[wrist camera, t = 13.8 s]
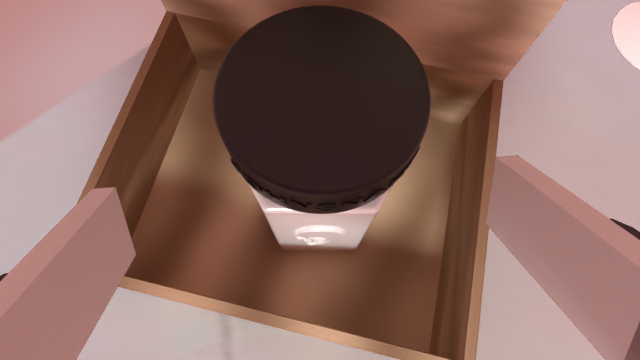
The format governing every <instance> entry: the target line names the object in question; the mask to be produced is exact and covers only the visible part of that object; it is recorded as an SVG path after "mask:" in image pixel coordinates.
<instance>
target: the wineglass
mask: <svg viewBox="0 0 640 360" xmlns="http://www.w3.org/2000/svg"><path fill="white" fill-rule="evenodd" d="M612 34H613V38H614V42H615V44H616V46H617V48H618V49H619V51H620V52H621V54H622V55H623V56H624V57H625V58H626V59H627V60H628V61H629V62H630V63H631V64H632V65H633V66H634V67H636V68H638V69H640V2H635V3H631V4H629V5H627V6H625V7H624V8H622V9H621V10H619V12H618V13H617V15H616V16H615V18H614V19H613V25H612Z"/></svg>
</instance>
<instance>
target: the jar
mask: <svg viewBox="0 0 640 360" xmlns="http://www.w3.org/2000/svg"><path fill="white" fill-rule="evenodd" d="M430 111H431V93H430V86H429V82H428V78H427V75H426V72H425V70H424V67H423V65H422V63H421V61H420V59H419V58H418V56H417V55H416V53H415V52H414V50H413V49H412V48H411V46H410V45H409V44H408V43H407V42H406V41H405V40H404V39H403V38H402V36H400V35H399V34H398V33H397V32H396V31H395V30H393V29H392V28H391V27H389V26H388V25H386V24H385V23H383V22H381V21H380V20H378V19H376V18H374V17H372V16H370V15H367V14H365V13H362V12H359V11H356V10H352V9H348V8H343V7H337V6H324V5H319V6H305V7H299V8H293V9H290V10H286V11H283V12H280V13H277V14H275V15H272V16H270V17H268V18H266V19H264V20H262V21H261V22H259V23H257V24H256V25H254V26H253V27H252V28H250V29H249V30H248V31H247V32H245V33H244V34H243V35H242V36H241V37H240V38H239V39H238V40H237V41H236V42H235V43H234V45H233V46H232V47H231V48H230V50H229V51H228V53H227V54H226V56H225V57H224V59H223V61H222V63H221V65H220V67H219V70H218V72H217V76H216V79H215V83H214V89H213V112H214V118H215V122H216V126H217V129H218V132H219V134H220V137H221V139H222V141H223V143H224V145H225V146H226V148H227V150H228V152H229V154H230V156H231V159H230V161H231V162H232V164H233V166H234V167H235V169H236V170H237V171H238V172H239V173H240V174H241V175H242V177H243V178H244V180H245V182H246V184H247V186H248V188H249V190H250V192H251V194H252V196H253V198H254V200H255V202H256V203H257V205H258V207H259V209H260V211H261V213H262V215H263V216H264V218H265V220H266V222H267V224H268V226H269V228H270V229H271V231H272V233H273V235H274V237H275V239H276V241H277V242H278V244H279V246H280V248H281V249H282V250H335V251H354V250H356V249H357V247H358V246H359V244H360V242H361V240H362V239H363V237H364V235H365V234H366V232H367V230H368V229H369V227H370V225H371V223H372V222H373V220H374V218H375V217H376V215H377V213H378V212H379V210H380V208H381V206H382V204H383V203H384V201H385V199H386V197H387V195H388V194H389V192H390V190H391V188H392V186H393V185H394V183H395V182H396V181H397V180H398V179H399V178H400V177H402V175H403V174H404V173H405V170H406V169H408V168H409V166H410V164H411V163H412V161H413V160H414V158H415V156H416V155H417V153H418V151H419V149H420V146H419V145H420V143H421V142H422V140H423V137H424V135H425V133H426V130H427V126H428V123H429V118H430Z"/></svg>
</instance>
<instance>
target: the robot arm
mask: <svg viewBox="0 0 640 360" xmlns="http://www.w3.org/2000/svg"><path fill="white" fill-rule="evenodd" d="M486 224H487V225H488V227H489V228H490V229H491V230H492V231H493V232H494V233H495V235H496V236H497V237H498V238H499V239H500V240H501V241H502V243H503V244H504V245H505V246H506V247H507V248H508V249H509V251H510V252H511V253H512V254H513V255H514V256H515V257H516V259H517V260H518V261H519V262H520V263H521V264H522V265H523V267H524V268H525V269H526V270H527V271H528V272H529V273H530V275H531V276H532V277H533V278H534V279H535V280H536V281H537V283H538V284H539V285H540V286H541V287H542V288H543V289H544V290H545V292H546V293H547V294H548V295H549V296H550V297H551V298H552V300H553V301H554V302H555V303H556V304H557V305H558V306H559V308H560V309H561V310H562V311H563V312H564V313H565V314H566V316H567V317H568V318H569V319H570V320H571V321H572V322H573V324H574V325H575V326H576V327H577V328H578V329H579V330H580V332H581V333H582V334H583V335H584V336H585V337H586V338H587V340H588V341H589V342H590V343H591V344H592V345H593V346H594V348H595V349H596V350H597V351H598V352H599V353H600V354H601V355H602V357H603V358H604V359H605V360H640V232H639V231H637V230H636V229H634V228H633V227H630V226H628V225H626V224H623V223H621V222H619V221H616V220H614V219H609V218H607V217H606V216H604V215H603V214H601V213H600V212H598V211H597V210H596V209H594V208H593V207H591V206H590V205H588V204H587V203H585V202H584V201H583V200H581V199H580V198H578V197H577V196H575V195H574V194H572V193H571V192H570V191H568V190H567V189H565V188H564V187H562V186H561V185H559V184H558V183H557V182H555V181H554V180H552V179H551V178H549V177H548V176H546V175H545V174H544V173H542V172H541V171H539V170H538V169H536V168H535V167H533V166H532V165H531V164H529V163H528V162H526V161H525V160H523V159H522V158H520V157H519V156H518V155H516V156H503V157H496V162H495V169H494V175H493V182H492V189H491V195H490V202H489V208H488V215H487V221H486ZM135 256H136V253H135V249H134V246H133V243H132V239H131V236H130V233H129V230H128V226H127V223H126V220H125V216H124V213H123V210H122V206H121V203H120V200H119V197H118V193H117V190H116V187H110V188H97V189H92V190H91V191H90V192H89V193H88V194H87V195H86V196H85V197H84V198H83V199H82V200H81V201H80V202H79V203H78V204H77V205H76V206H75V207H74V208H73V209H72V210H71V211H70V212H69V213H68V214H67V215H66V216H65V217H64V218H63V219H62V220H61V221H60V222H59V223H58V224H57V225H56V226H55V227H54V228H53V229H52V230H51V231H50V232H49V233H48V234H47V235H46V236H45V237H44V238H43V239H42V240H41V241H40V242H39V243H38V244H37V245H36V246H35V247H34V248H33V249H32V250H31V251H30V252H29V253H28V254H27V255H26V256H25V257H24V258H23V259H22V260H21V261H20V262H19V263H18V264H17V265H16V266H15V267H14V268H13V269H12V270H11V271H10V272H9V273H6V274H3V275H1V276H0V360H76V359H77V357H78V355H79V354H80V352H81V350H82V348H83V347H84V345H85V343H86V341H87V340H88V338H89V336H90V334H91V333H92V331H93V329H94V327H95V326H96V324H97V322H98V320H99V319H100V317H101V315H102V313H103V312H104V310H105V308H106V306H107V305H108V303H109V301H110V299H111V298H112V296H113V294H114V292H115V291H116V289H117V287H118V285H119V284H120V282H121V280H122V278H123V277H124V275H125V273H126V271H127V270H128V268H129V266H130V264H131V263H132V261H133V259H134V257H135Z"/></svg>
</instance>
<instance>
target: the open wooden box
mask: <svg viewBox="0 0 640 360" xmlns="http://www.w3.org/2000/svg"><path fill="white" fill-rule="evenodd" d="M162 2H163V4H164V7H165V9H166V14H165V16H164V18H163V20H162V22H161V24H160V27H159V29H158V31H157V33H156V35H155V37H154V39H153V41H152V44H151V46H150V48H149V50H148V52H147V54H146V56H145V59H144V61H143V63H142V65H141V67H140V69H139V71H138V74H137V76H136V78H135V80H134V82H133V84H132V86H131V89H130V91H129V93H128V95H127V97H126V99H125V102H124V104H123V106H122V108H121V110H120V112H119V114H118V117H117V119H116V121H115V123H114V125H113V127H112V129H111V132H110V134H109V136H108V138H107V140H106V142H105V144H104V147H103V149H102V151H101V153H100V155H99V157H98V159H97V162H96V164H95V166H94V168H93V170H92V172H91V175H90V177H89V179H88V181H87V183H86V185H85V187H84V190H83V192H82V194H81V196H80V198H79V200H78V202H77V204H78V203H79V202H80V201H81V200H82V199H83V198H84V197H85V196H86V195H87V194H88V193H89V192H90V191H91V190H92V189H97V188H110V187H116V190H117V193H118V197H119V200H120V203H121V206H122V210H123V213H124V216H125V220H126V223H127V226H128V230H129V233H130V236H131V239H132V243H133V246H134V249H135V253H136V256H135V257H134V259H133V261H132V263H131V264H130V266H129V268H128V270H127V271H126V273H125V275H124V277H123V278H122V280H121V282H120V284H119V285H118V287H122V288H126V289H130V290H134V291H138V292H142V293H145V294H149V295H153V296H157V297H161V298H165V299H169V300H172V301H176V302H180V303H184V304H188V305H192V306H196V307H200V308H203V309H207V310H211V311H215V312H219V313H223V314H227V315H230V316H234V317H238V318H242V319H246V320H250V321H254V322H258V323H261V324H265V325H269V326H273V327H277V328H281V329H285V330H288V331H292V332H296V333H300V334H304V335H308V336H312V337H316V338H319V339H323V340H327V341H331V342H335V343H339V344H343V345H346V346H350V347H354V348H358V349H362V350H366V351H370V352H374V353H377V354H381V355H385V356H389V357H393V358H397V359H401V360H476V352H477V342H478V332H479V322H480V312H481V301H482V291H483V281H484V271H485V261H486V251H487V241H488V230H489V227H488V225H487V224H486V221H487V215H488V208H489V202H490V195H491V189H492V182H493V175H494V169H495V159H496V149H497V139H498V129H499V119H500V108H501V98H502V88H503V80H504V79H505V78H506V77H507V75H508V74H509V73H510V72H511V70H512V69H513V68H514V66H515V65H516V64H517V63H518V61H519V60H520V59H521V58H522V56H523V55H524V54H525V52H526V51H527V50H528V49H529V47H530V46H531V45H532V44H533V42H534V41H535V40H536V38H537V37H538V36H539V35H540V33H541V32H542V31H543V30H544V28H545V27H546V26H547V25H548V23H549V22H550V21H551V19H552V18H553V17H554V16H555V14H556V13H557V12H558V11H559V9H560V8H561V7H562V5H563V4H564V3H565V2H566V0H162ZM319 5H324V6H337V7H343V8H348V9H352V10H356V11H359V12H362V13H365V14H367V15H370V16H372V17H374V18H376V19H378V20H380V21H381V22H383V23H385V24H386V25H388V26H389V27H391V28H392V29H393V30H395V31H396V32H397V33H398V34H399V35H400V36H402V38H403V39H404V40H405V41H406V42H407V43H408V44H409V45H410V46H411V48H412V49H413V50H414V52H415V53H416V55H417V56H418V58H419V59H420V61H421V63H422V65H423V67H424V70H425V72H426V75H427V78H428V82H429V86H430V93H431V111H430V118H429V123H428V126H427V130H426V133H425V135H424V137H423V140H422V142H421V143H420V145H419V146H420V149H419V151H418V153H417V155H416V156H415V158H414V160H413V161H412V163H411V164H410V166H409V168H408V169H406V170H405V173H404V174H403V175H402V177H400V178H399V179H398V180H397V181H396V182H395V183H394V185H393V186H392V188H391V190H390V192H389V194H388V195H387V197H386V199H385V201H384V203H383V204H382V206H381V208H380V210H379V212H378V213H377V215H376V217H375V218H374V220H373V222H372V223H371V225H370V227H369V229H368V230H367V232H366V234H365V235H364V237H363V239H362V240H361V242H360V244H359V246H358V247H357V249H356V250H354V251H335V250H282V249H281V248H280V246H279V244H278V242H277V241H276V239H275V237H274V235H273V233H272V231H271V229H270V228H269V226H268V224H267V222H266V220H265V218H264V216H263V215H262V213H261V211H260V209H259V207H258V205H257V203H256V202H255V200H254V198H253V196H252V194H251V192H250V190H249V188H248V186H247V184H246V182H245V180H244V178H243V177H242V175H241V174H240V173H239V172H238V171H237V170H236V169H235V167H234V166H233V164H232V162H231V161H230V159H231V156H230V154H229V152H228V150H227V148H226V146H225V145H224V143H223V141H222V139H221V137H220V134H219V132H218V129H217V126H216V122H215V118H214V112H213V89H214V83H215V79H216V76H217V72H218V70H219V67H220V65H221V63H222V61H223V59H224V57H225V56H226V54H227V53H228V51H229V50H230V48H231V47H232V46H233V45H234V43H235V42H236V41H237V40H238V39H239V38H240V37H241V36H242V35H243V34H244V33H245V32H247V31H248V30H249V29H250V28H252V27H253V26H254V25H256V24H257V23H259V22H261V21H262V20H264V19H266V18H268V17H270V16H272V15H275V14H277V13H280V12H283V11H286V10H290V9H293V8H299V7H305V6H319Z"/></svg>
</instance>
